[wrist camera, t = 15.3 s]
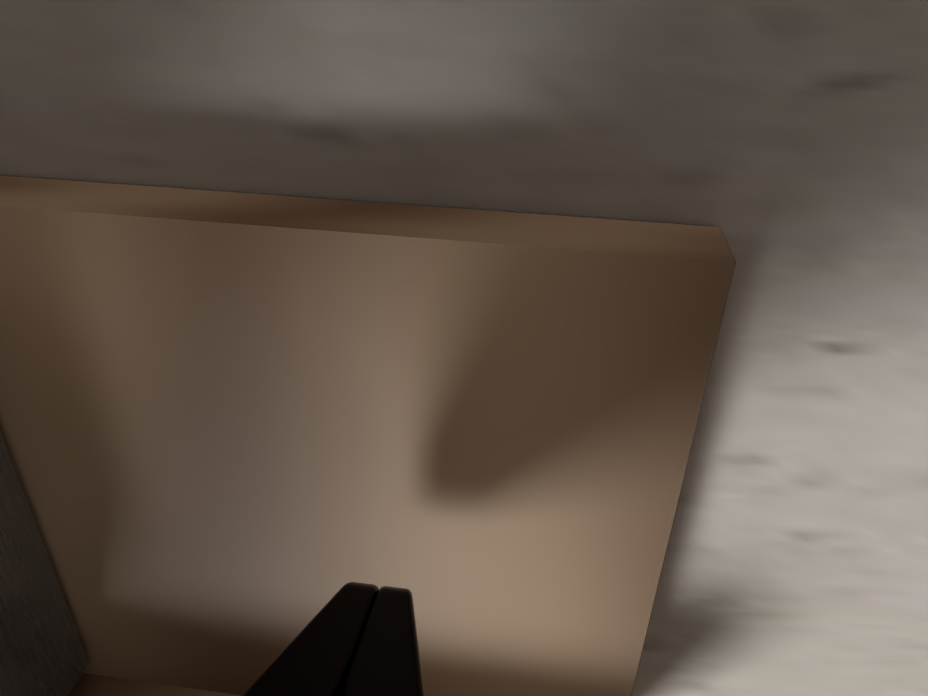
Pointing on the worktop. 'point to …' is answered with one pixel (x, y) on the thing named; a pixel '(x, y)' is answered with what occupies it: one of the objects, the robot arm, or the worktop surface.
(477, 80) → the worktop surface
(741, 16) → the worktop surface
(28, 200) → the wooden book rack
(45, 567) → the bookend
